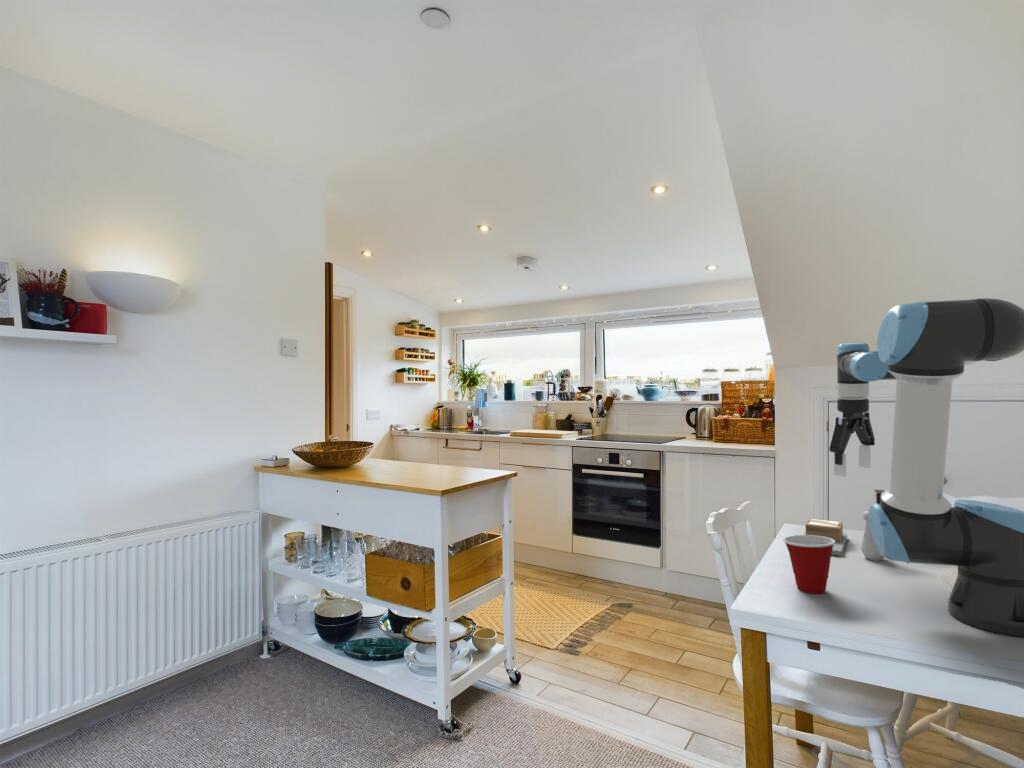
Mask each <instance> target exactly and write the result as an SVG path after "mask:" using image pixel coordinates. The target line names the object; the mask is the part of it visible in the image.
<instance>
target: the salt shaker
mask: <svg viewBox="0 0 1024 768" xmlns="http://www.w3.org/2000/svg"><path fill="white" fill-rule="evenodd" d="M862 519H863V520H865V524H864V525H865V526H864V531H863V535H862V541H861V544H860V545H861V546H860V550H861V552H862V554H863V556H864V557H865V559H866V558H867V559H866V560H869V559H870V560H869V561H874V560H875V561H876V562H882V561H884V559H885V558H884V557H883V556H882V555H881V554H880V552H879V551H878V549H877V547H876V545H875V542H874V540H873V536H872V533H871V529H870V524H869V517H868V510H865V511H864V512H863V513H862Z"/></svg>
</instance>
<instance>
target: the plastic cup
mask: <svg viewBox="0 0 1024 768" xmlns="http://www.w3.org/2000/svg"><path fill="white" fill-rule="evenodd" d="M782 541H783V542H784V543H785V545H786V548H787V551H788V554H789V558H790V562H791V568H792V572H793V574H794V579H795V585H796V587H797V590H799V591H801V592H803V591H804V593H808V594H813V595H815V594H816V595H821V594H824V593H826V590H827V585H828V584H827V583H828V578H829V574H830V565H831V559H832V558H831V557H832V556H833V555H832V549H833V545H834V544H835V540H834V539H832V538H828V537H824V536H816V535H804V534H795V535H789V536H785V537H783V538H782Z"/></svg>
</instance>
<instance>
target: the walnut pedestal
mask: <svg viewBox="0 0 1024 768" xmlns="http://www.w3.org/2000/svg"><path fill="white" fill-rule="evenodd" d="M843 529H844V528H843V521H833V520H827V519H826V520H825V519H815V518H809V519H808V521H807V522H806V523H805V532H806V535H816V536H824V537H828V538H832V539H834V540H835V541H836V542H841V539H842V536H843V533H844V532H843V531H844V530H843Z"/></svg>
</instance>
